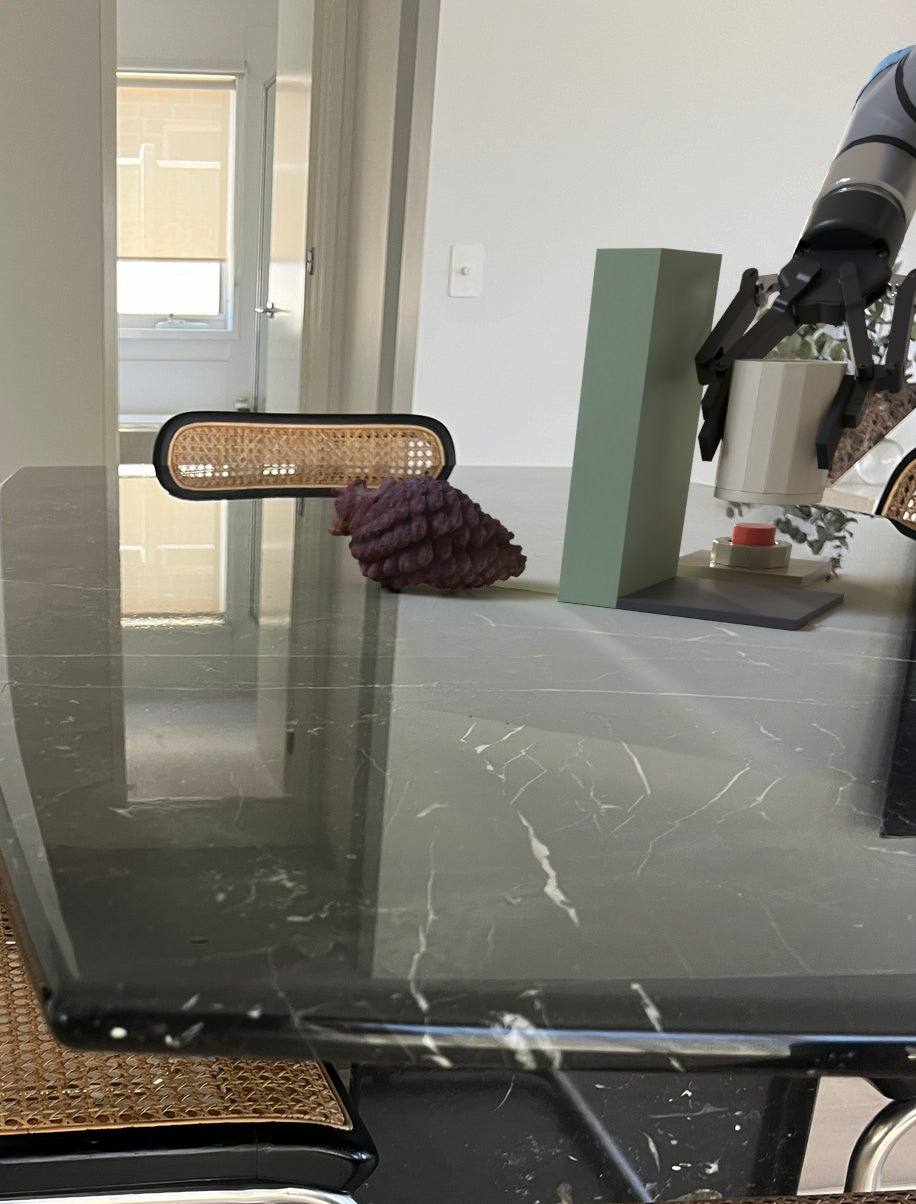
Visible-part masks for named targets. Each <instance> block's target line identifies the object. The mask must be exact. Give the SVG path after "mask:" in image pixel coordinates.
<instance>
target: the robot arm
mask: <svg viewBox="0 0 916 1204" xmlns="http://www.w3.org/2000/svg"><path fill="white" fill-rule="evenodd" d="M915 213H916V44H913V45H908V46H906V47H904V48H902V49H900V50H897V51H894V52H891V53H889V54H888V55H887V56H885V57H884V58H883V59H882V60H881V61H880V62H879V63H878V64H876V66H875V68H874V69H873V71H872V72H871V74H870V75H869V78H868V80H867V82H866V84H865V85H863V87H862V88H861V90H860V91H859V92H858V95H857V96H856V99H855V104H854V105H853V107H852V110H851V115H850V118H849V120H848V122H847V124H846V127H845V130H844V132H843V135H842V136H841V139H840V142H839V144H838V147H837V149H836V151H835V153H834V157H833V159H832V161H831V164H830V166H829V169H828V170H827V173H826V176H825V177H824V179H823V182H822V184H821V186H820V188H819V191H818V193H817V195H816V198H815V200H814V202H813V205H812V207H811V211H810V212H809V215H808V216H807V218H806V221H805V224H804V226H803V229H802V230H801V232H800V235H799V238H798V240H797V242H796V245H795V248H794V250H793V253H792V256H791V259H790V260H789V261H788V262H787V263H786V264H785V265H784V266H782V268H781V269H780V270H779V271H778V272H776V273H769V274H763V275H762V274H761V275H759V269H758V268H756V267H749V268H747V269H744V271H743V272H742V275H741V279H740V284H739V289H738V291H737V292H736V294H735V295H734V297H733V299H732V300H731V301H730V303H729V305H728V306H727V308H726V309H725V310H724V312H723V314H722V315H721V317H720V318H719V320H718V321H717V322H716V324H715V326H714V327H713V328H712V331H711V333H710V335H709V336H708V338H707V339H706V341H705V342H704V344H703V345H702V347H701V348H700V350H699V351H698V353H697V354H696V356H695V358H694V360H695V366H696V372H697V378H698V383H699V384H700V385H704V387H705V386H707V387H706V390H705V392H704V393H703V396H702V401H701V408H700V409H701V413H702V419H703V423H702V425H701V428H700V430H699V432H698V434H697V441H698V447H699V451H700V458H701V462H708V463H710V462H713V459H714V456H715V454H716V452H717V451H718V447H719V446H720V444H721V439H722V432H723V425H724V419H725V412H726V406H727V399H728V392H729V386H730V379H731V373H732V366H733V360H734V359H765V358H766V357H767V356H768V355H769V354H770V353H771V352H772V351H773V350H774V349H775V348H776V347H777V346H778V345H779V344H780V343H781V342H782V341H783V340H784V339H785V338H786V337H789V338H790V337H792V336H794V334H796V332H798V331H799V329H801V328H802V327H803V326H812V325H817V324H824V325H828V326H842V325H844V330H845V336H846V339H847V344H848V349H849V355H850V360H851V366H852V371H853V374H847V373H846V374H844V376H843V379H842V381H841V384H840V386H839V388H838V391H837V393H836V396H835V398H834V400H833V403H832V405H831V408H830V410H829V413H828V415H827V418H826V420H825V423H824V425H823V428H822V430H821V432H820V435H819V437H818V440H817V442H816V451H817V463H818V469H824V470H828V471H829V469H830V467H831V465H832V462H833V460H834V457H835V454H836V452H837V449H838V447H839V445H840V442H841V440H842V438H843V435H844V432H845V430H846V429H854V430H856V429H857V428H858V427H859V426H860V425H861V424H862V422H863V419H864V417H865V414H866V412H867V410H868V406H869V404H870V402H871V399H872V398H873V397H874V395H876V394H878V393H881V392H885V391H886V393H888V394H891V395H894V394H898V393H900V392H901V391H902V390H903V388H904V383H905V378H906V372H907V371H906V370H907V365H908V358H909V351H910V346H911V338H912V332H913V326H914V325H913V324H914V318H915V316H916V267H915V268H912V269H911V270H910V271H909V272H908V273H907V275H906V274H905V275H904V274H898V273H893V268H894V267H895V266H894V265H895V263H896V260H897V259H898V255H899V254H900V251H901V248H902V245H903V244H904V241H905V238H906V235H907V232H908V230H909V227H910V225H911V223H912V220H913V218H914V216H915ZM774 293H779V294H778V295H777V296H776V297H775V298H774V300H773V304H772V306H771V307H770V308H769V309H768V310H767V311H766V312H765V313H764V314H763V315H762V316H761V317H760V318H759V319H758V320H757V321H756V322H754V324H753V325H752V323H753V321H754V319H755V318H756V316H757V314H758V311H759V308H760V309H761V308H764V307H765V306H766V304H767V303H766V302H767V301H768V299H769V298H770V296H771V295H772V294H774ZM887 294H889V295H890V302H891V304H892V306H893V311H892V317H891V324H890V330H889V335H888V341H887V342H888V343H887V348H886V356H885V360H884V361H885V362H884V364H880V365H876V366H875V359H873V353H872V348H871V342H870V338H869V332H868V331H869V330H868V326H867V320H866V316H865V311H866V310H867V309H868V308H869V307H871V306H872V305H874V304H875V303H877V302H878V301H880V300H881V299H882V298H884V297H885V296H887ZM751 325H752V326H751ZM750 326H751V327H750Z"/></svg>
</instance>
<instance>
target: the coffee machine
mask: <svg viewBox="0 0 916 1204" xmlns="http://www.w3.org/2000/svg"><path fill="white" fill-rule="evenodd" d="M722 261H723V253H715V252H704V251H695V250H685V249H675V248H666V247H631V248H630V247H617V248H614V247H613V248H611V247H609V248H606V247H605V248H596V252H595V261H594V270H593V278H592V286H591V287H592V288H591V295H590V306H589V314H588V323H587V332H586V340H585V341H586V342H585V349H584V350H585V351H584V358H583V360H584V361H583V367H582V377H581V385H580V396H579V404H578V413H577V420H576V421H577V422H576V431H575V438H574V439H575V440H574V447H573V448H574V449H573V458H572V465H571V476H570V484H569V492H568V493H569V494H568V501H567V502H568V504H567V510H566V511H567V512H566V521H565V527H564V528H565V529H564V539H563V547H562V556H561V565H560V573H559V584H558V593H557V600H556V601H557V602H561V603H571V604H578V605H586V606H593V607H602V608H610V609H619V610H627V611H633V612H634V611H635V612H644V613H650V614H658V615H659V614H660V615H667V616H675V617H683V618H691V619H700V620H707V621H713V622H714V621H715V622H723V623H731V624H740V625H747V626H756V627H763V628H771V629H779V630H788V631H797V630H798V629H801V628H802V627H804V626H806V625H807V624H808V623H809V622H811V621H813V620H815V619H816V618H819V617H821V616H822V615H824V614H825V613H827V612H829V611H831V610H832V609H834V608H836V607H838V606H839V605H841V604H843V603H844V599H845V594H844V593H839V592H838V593H837V592H830V591H829V592H828V591H821V590H810V589H804V588H803V589H794V588H785V587H776V586H766V585H757V584H748V583H739V582H730V581H721V580H711V579H702V578H693V577H684V576H676V575H677V568H678V561H679V557H680V554H681V546H682V540H683V532H684V525H685V518H686V511H687V505H688V498H689V492H690V491H689V490H690V485H691V484H690V483H691V478H692V470H693V462H694V456H695V450H696V449H695V448H696V441H697V437H698V428H699V420H700V415H701V414H700V413H701V409H702V408H701V401H702V399H703V395H704V393H703V392H704V387H705V386H704V385H700V384H699V383H698V378H697V372H696V366H695V360H694V358H695V356H696V354H697V353H698V351H699V350H700V348H701V347H702V345H703V344H704V342H705V341H706V339H707V338H708V336H709V335H710V333H711V332H712V330H713V324H714V316H715V310H716V302H717V295H718V289H719V281H720V275H721V267H722Z"/></svg>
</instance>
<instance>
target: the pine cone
mask: <svg viewBox="0 0 916 1204" xmlns="http://www.w3.org/2000/svg"><path fill="white" fill-rule="evenodd" d="M330 494H331V495H334V496H336V497H337V499H335V501H334V502H333V504H334V505H333V506H334V509H335V513H336V518H335V519H334V520H333V522H332V523H331V524H330V526H329V527H328V528H327V529H326V530H327V532H328V534H329V535H331V536H333V537H351V540H350V541H349V542H348V549H349V551H350V555H351V557H352V558H353V559H354V560H357V564H358V566H359V567H360V568H359V571H360V573H361V575H362V576H363V577H364V578H368V579H370V580H371V581H373V582H376V583H379V585H380V588H381V589H390V588H392V589H393V590H394V591H400V590H402V589H403V588H404V587H406V586H408V585H410V586H412V587H419V586H420V585H422V584H424V585H427V586H429V587H430V588H433V589H434V588H435V589H437V590H440V591H443V590H450V591H451V590H452V591H460V590H463V591H470V590H472V589H481V588H483V587H485V586H487V587H490V586H494V584H495V583H496V582H497V581H501V582H506V581H507V580H509V579H510V578H511V577H513V578H519V576H521V575H522V574H523V573H524V572H525V570H526V567H527V565H526V563H527V562H528V556H527V555H524V554H522V551H523V546H522V545H521V544H513V543H511V541H512V540H514V539H515V534H514V532H513V531H509V530H508V527H506V526H505V525H503V524H502V523H501V520H500V519H498V518H493V516H492V515H491V514H490V513H485V512H484V511H483V510H482V507H481V505H480V502H474V501H473V499H471V498H470V496H469V495H468V494H467V493H464V492H463V491H462V490H461V489H460V488H456V487H454V486H453V485H451V484H450V482H449V481H448V480H447V479H440V480H436V479H435V478H434V477H433V476H431V475H426V474H425V475H423V476H420V477H417V476H411V477H409V478H407V479H406V480H404V479H401V480H397V479H396V478H395V477H394V476H393V475H390V476H384V477H381V478H380V481H379V486H378V487H376V488H369V487H368V485H367V480H366V479H362V478H355V479H354V480H353V481H352V482H350V483H349V484H347V485H346V486H344V487H334V488H331V490H330Z"/></svg>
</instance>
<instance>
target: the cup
mask: <svg viewBox="0 0 916 1204" xmlns="http://www.w3.org/2000/svg"><path fill="white" fill-rule="evenodd" d="M848 364H849V362H848V361H843V360H826V359H825V360H824V359H799V358H798V359H796V358H795V359H793V358H763V359H734V360H733V366H732V373H731V379H730V386H729V392H728V399H727V406H726V412H725V419H724V425H723V432H722V438H721V441H720V444H719V453H718V460H717V465H716V471H715V472H716V473H715V479H714V489H713V497H714V498H716V499H718V500H721V501H726V502H733V503H740V504H752V505H753V504H754V505H765V506H807V505H808V506H810V505H817V504H820V503H822V501H823V497H824V492H825V491H826V485H827V481H828V476H829V475H828V474H829V470H824V469H818V463H817V451H816V442H817V440H818V437H819V435H820V432H821V430H822V428H823V425H824V423H825V420H826V418H827V415H828V413H829V410H830V408H831V405H832V403H833V400H834V398H835V396H836V393H837V391H838V388H839V386H840V384H841V381H842V379H843V376H844V374H846V375H847V370H848Z"/></svg>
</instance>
